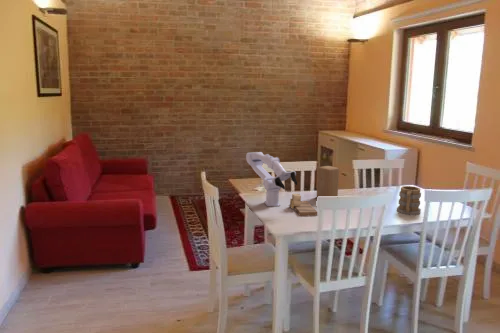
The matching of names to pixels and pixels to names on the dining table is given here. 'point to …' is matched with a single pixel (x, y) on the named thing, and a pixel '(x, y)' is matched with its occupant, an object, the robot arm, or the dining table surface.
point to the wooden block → (327, 181)
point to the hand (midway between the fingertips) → (290, 185)
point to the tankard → (409, 200)
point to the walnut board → (305, 209)
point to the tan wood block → (295, 200)
